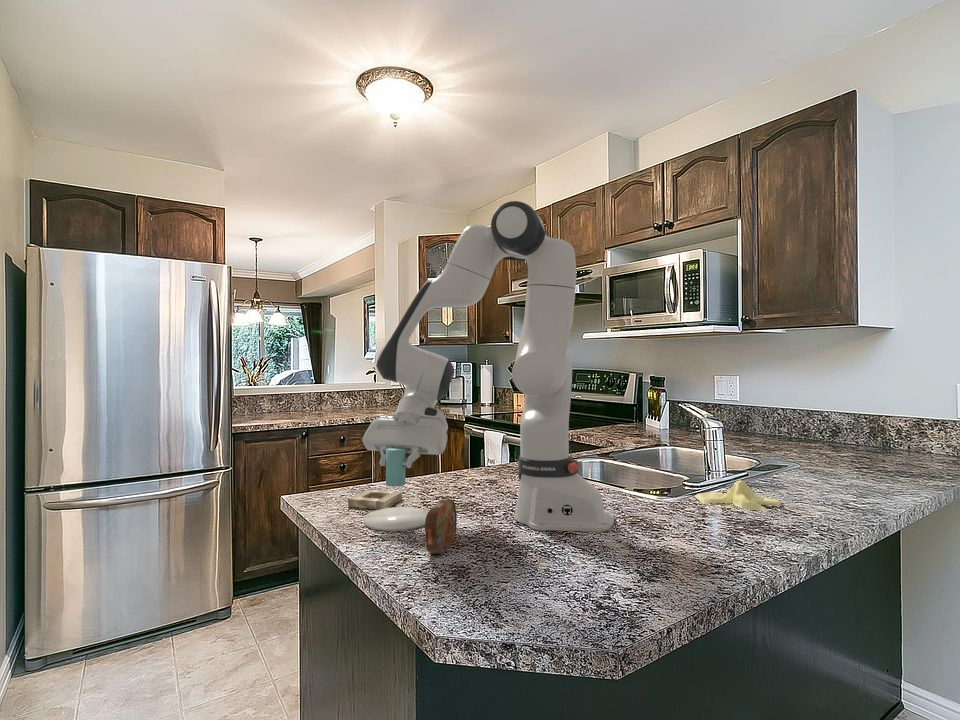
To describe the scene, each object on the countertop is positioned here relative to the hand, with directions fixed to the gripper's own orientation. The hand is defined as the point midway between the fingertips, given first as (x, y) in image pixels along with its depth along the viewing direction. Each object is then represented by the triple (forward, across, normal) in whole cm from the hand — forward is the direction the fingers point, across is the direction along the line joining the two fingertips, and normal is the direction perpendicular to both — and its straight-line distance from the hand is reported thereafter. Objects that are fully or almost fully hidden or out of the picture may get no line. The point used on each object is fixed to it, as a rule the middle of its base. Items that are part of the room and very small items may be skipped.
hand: (394, 465), depth 126 cm
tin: (+18, +16, 0) cm, 24 cm away
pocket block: (0, -12, +18) cm, 21 cm away
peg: (+3, 0, +4) cm, 4 cm away
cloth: (-18, +78, +35) cm, 87 cm away
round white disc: (+8, 0, +9) cm, 13 cm away
